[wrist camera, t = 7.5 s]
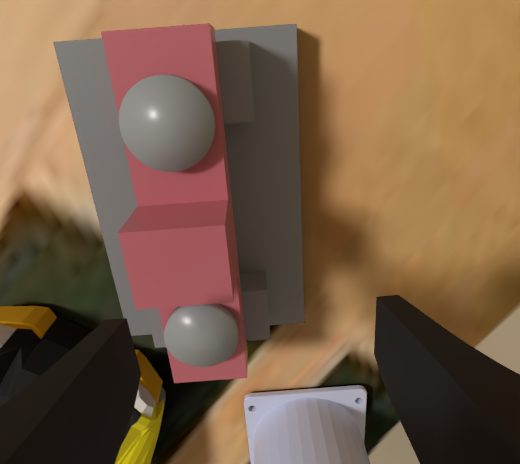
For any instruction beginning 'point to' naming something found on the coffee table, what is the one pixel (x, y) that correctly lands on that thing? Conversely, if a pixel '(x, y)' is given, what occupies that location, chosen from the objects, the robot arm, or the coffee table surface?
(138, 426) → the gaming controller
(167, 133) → the frame bar
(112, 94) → the display stand
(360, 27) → the coffee table surface
